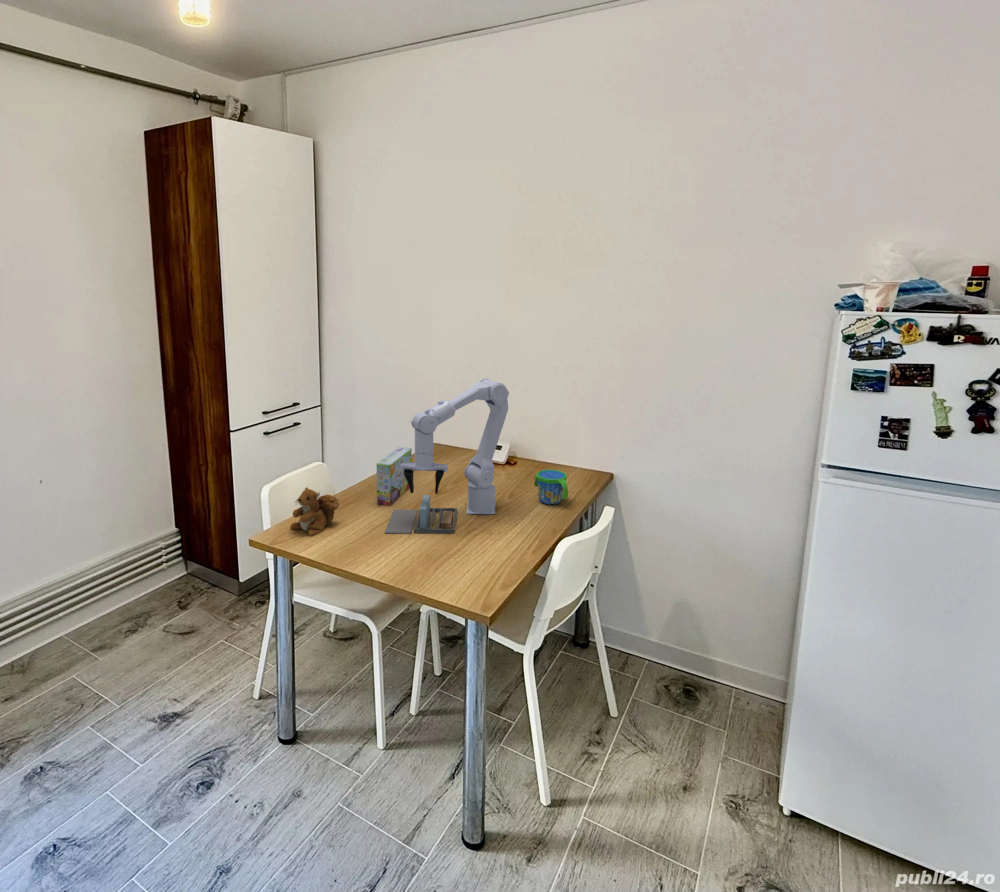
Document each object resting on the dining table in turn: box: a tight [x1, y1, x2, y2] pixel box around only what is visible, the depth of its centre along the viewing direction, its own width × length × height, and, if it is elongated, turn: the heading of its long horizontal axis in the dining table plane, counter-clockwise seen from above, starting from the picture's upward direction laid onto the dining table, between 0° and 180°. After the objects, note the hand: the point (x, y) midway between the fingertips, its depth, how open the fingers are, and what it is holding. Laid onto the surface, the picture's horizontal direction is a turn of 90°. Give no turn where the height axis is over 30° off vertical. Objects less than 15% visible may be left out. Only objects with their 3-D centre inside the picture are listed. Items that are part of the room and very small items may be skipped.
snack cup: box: [533, 469, 569, 505], centre depth 207 cm, size 16×10×10 cm
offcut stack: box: [440, 511, 454, 529], centre depth 190 cm, size 3×12×2 cm, turn 1°
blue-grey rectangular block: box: [419, 494, 431, 529], centre depth 189 cm, size 2×12×7 cm, turn 1°
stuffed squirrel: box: [289, 487, 341, 537], centre depth 184 cm, size 10×14×13 cm
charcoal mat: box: [384, 509, 419, 535], centre depth 190 cm, size 8×18×1 cm, turn 1°
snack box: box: [376, 446, 413, 506], centre depth 211 cm, size 21×6×15 cm, turn 168°
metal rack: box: [413, 507, 458, 535], centre depth 190 cm, size 12×17×1 cm
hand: (424, 492), depth 187 cm, fingers open, 7 cm apart
